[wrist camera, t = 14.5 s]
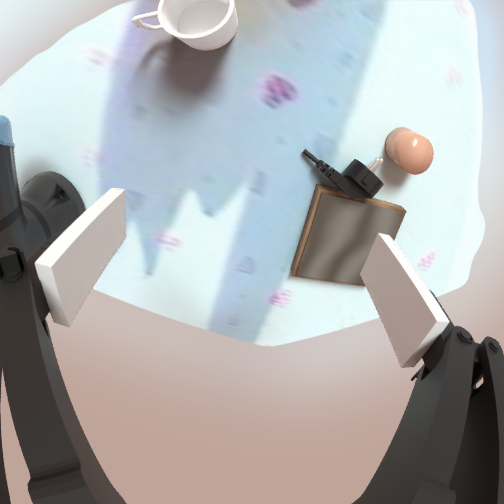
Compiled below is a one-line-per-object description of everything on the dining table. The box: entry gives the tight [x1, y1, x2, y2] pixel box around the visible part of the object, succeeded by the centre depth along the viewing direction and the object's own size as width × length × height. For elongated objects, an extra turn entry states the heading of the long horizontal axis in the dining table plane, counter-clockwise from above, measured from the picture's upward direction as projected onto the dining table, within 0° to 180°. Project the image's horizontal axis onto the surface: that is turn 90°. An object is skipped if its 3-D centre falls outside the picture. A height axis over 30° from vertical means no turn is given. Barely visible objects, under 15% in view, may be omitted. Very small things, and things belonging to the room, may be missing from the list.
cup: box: [132, 0, 238, 50], centre depth 25 cm, size 8×12×10 cm
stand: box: [291, 184, 406, 286], centre depth 46 cm, size 16×16×2 cm
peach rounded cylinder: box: [386, 127, 433, 175], centre depth 36 cm, size 6×6×5 cm
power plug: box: [302, 149, 384, 199], centre depth 38 cm, size 6×8×12 cm
